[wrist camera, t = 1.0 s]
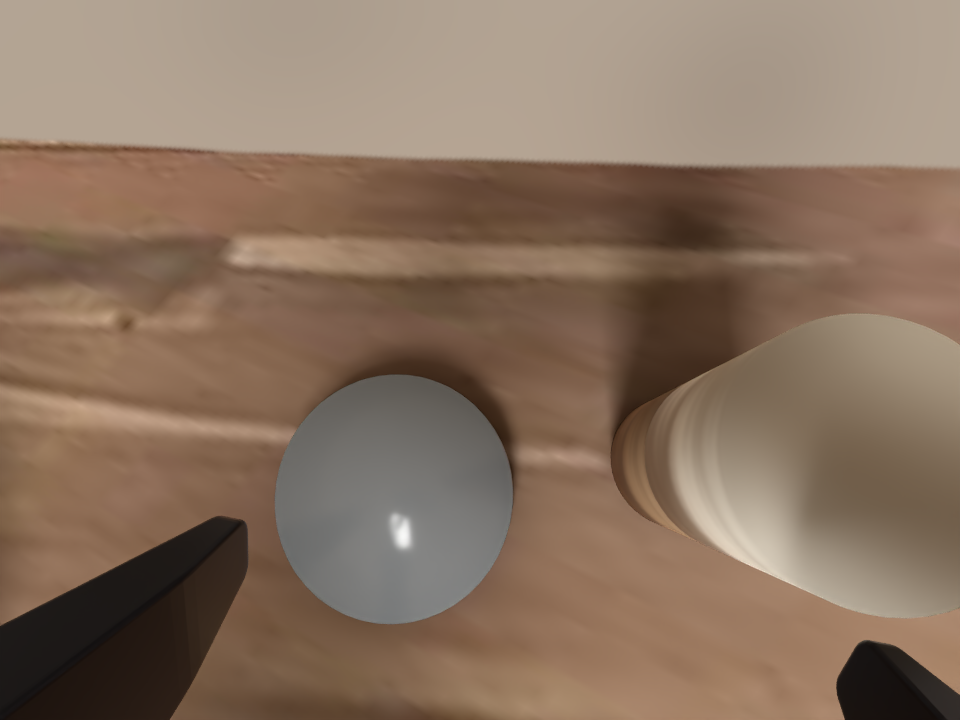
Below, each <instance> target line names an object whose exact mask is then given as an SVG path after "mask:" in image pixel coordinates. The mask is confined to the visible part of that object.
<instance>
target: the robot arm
mask: <svg viewBox="0 0 960 720" xmlns="http://www.w3.org/2000/svg"><path fill="white" fill-rule="evenodd" d="M247 568H248V529H247V525H246V523H245V521H243V520H241V519H236V518H231V517H225V516H216V517H214V518H211V519H209V520H207V521H205V522H203V523H201V524H200V525H198V526H196V527H194V528H192V529H190V530H188V531H186V532H184V533H182V534H180V535H178V536H176V537H174V538H172V539H170V540H168V541H166V542H164V543H162V544H160V545H158V546H156V547H154V548H152V549H150V550H148V551H146V552H145V553H143V554H141V555H139V556H137V557H135V558H133V559H131V560H129V561H127V562H125V563H123V564H121V565H119V566H117V567H115V568H113V569H111V570H109V571H107V572H105V573H103V574H101V575H99V576H97V577H95V578H93V579H91V580H90V581H88V582H86V583H84V584H82V585H80V586H78V587H76V588H74V589H72V590H70V591H68V592H66V593H64V594H62V595H60V596H58V597H56V598H54V599H52V600H50V601H48V602H46V603H44V604H42V605H40V606H38V607H36V608H34V609H33V610H31V611H29V612H27V613H25V614H23V615H21V616H19V617H17V618H15V619H13V620H11V621H9V622H7V623H5V624H3V625H1V626H0V720H170V718H171V717H172V715H173V713H174V712H175V710H176V709H177V707H178V705H179V704H180V702H181V701H182V699H183V697H184V695H185V694H186V692H187V690H188V689H189V687H190V685H191V684H192V682H193V680H194V678H195V676H196V674H197V672H198V670H199V668H200V667H201V665H202V663H203V661H204V659H205V657H206V655H207V653H208V651H209V649H210V647H211V645H212V643H213V641H214V639H215V637H216V635H217V632H218V630H219V628H220V626H221V624H222V622H223V620H224V618H225V616H226V614H227V612H228V610H229V608H230V606H231V604H232V602H233V600H234V598H235V596H236V594H237V592H238V590H239V588H240V586H241V584H242V582H243V580H244V578H245V575H246V572H247ZM836 690H837V696H838V700H839V703H840V706H841V709H842V712H843V715H844V718H845V720H960V695H959V694H958V693H956V692H955V691H954V690H952V689H951V688H950V687H949V686H947V685H946V684H945V683H943V682H942V681H941V680H940V679H938V678H937V677H936V676H935V675H933V674H932V673H931V672H929V671H928V670H927V669H926V668H924V667H923V666H922V665H920V664H919V663H918V662H917V661H915V660H914V659H913V658H911V657H910V656H909V655H908V654H906V653H905V652H904V651H902V650H901V649H900V648H898V647H896V646H894V645H891V644H886V643H881V642H875V641H870V640H864V641H862V642H860V643H858V645H857V646H856V647H855V649H854V651H853V652H852V654H851V656H850V657H849V659H848V661H847V662H846V664H845V666H844V667H843V669H842V671H841V672H840V674H839V676H838V678H837V684H836Z"/></svg>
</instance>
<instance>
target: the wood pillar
mask: <svg viewBox="0 0 960 720" xmlns="http://www.w3.org/2000/svg"><path fill="white" fill-rule="evenodd" d="M611 467H612V473H613V476H614V480H615V482H616V485H617V487H618V489H619V491H620V493H621V494H622V496H623V497H624V499H625V500H626V501H627V503H628V504H629V505H630V506H631V507H632V508H633V509H634V510H635V511H636V512H638V513H639V514H640V515H642V516H643V517H645V518H646V519H648V520H650V521H652V522H654V523H657V524H659V525H661V526H663V527H665V528H668V529H670V530H672V531H674V532H677V533H679V534H681V535H683V536H685V537H688V538H690V539H692V540H694V541H696V542H699V543H701V544H703V545H705V546H708V547H710V548H712V549H714V550H716V551H719V552H721V553H723V554H725V555H727V556H730V557H732V558H734V559H736V560H739V561H741V562H743V563H745V564H747V565H750V566H752V567H754V568H756V569H759V570H761V571H763V572H765V573H767V574H770V575H772V576H774V577H776V578H778V579H781V580H783V581H785V582H787V583H790V584H792V585H794V586H796V587H798V588H801V589H803V590H805V591H807V592H810V593H812V594H814V595H816V596H818V597H821V598H823V599H825V600H827V601H829V602H832V603H834V604H836V605H838V606H841V607H844V608H847V609H850V610H853V611H856V612H860V613H863V614H869V615H874V616H880V617H888V618H918V617H929V616H933V615H938V614H942V613H946V612H950V611H953V610H955V609H958V608H960V345H959V344H958V343H956V342H954V341H953V340H951V339H950V338H948V337H946V336H944V335H942V334H940V333H938V332H936V331H934V330H932V329H930V328H928V327H925V326H922V325H919V324H916V323H914V322H911V321H908V320H903V319H899V318H895V317H891V316H884V315H876V314H843V315H834V316H828V317H824V318H820V319H816V320H812V321H810V322H807V323H805V324H802V325H799V326H797V327H794V328H792V329H791V330H789V331H787V332H785V333H783V334H781V335H779V336H777V337H775V338H773V339H771V340H769V341H767V342H765V343H763V344H761V345H759V346H757V347H755V348H753V349H751V350H749V351H747V352H745V353H743V354H741V355H739V356H737V357H735V358H733V359H731V360H730V361H728V362H726V363H724V364H722V365H720V366H718V367H716V368H714V369H712V370H710V371H708V372H706V373H704V374H702V375H700V376H698V377H696V378H694V379H692V380H690V381H688V382H686V383H684V384H682V385H680V386H678V387H676V388H674V389H672V390H670V391H668V392H667V393H665V394H663V395H661V396H659V397H657V398H655V399H653V400H651V401H649V402H647V403H645V404H643V405H641V406H639V407H638V408H636V409H635V410H634V411H632V412H631V413H630V414H629V415H628V416H627V417H626V418H625V420H624V421H623V422H622V423H621V425H620V427H619V428H618V430H617V432H616V435H615V437H614V440H613V444H612V450H611Z"/></svg>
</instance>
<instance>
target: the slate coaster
mask: <svg viewBox="0 0 960 720" xmlns="http://www.w3.org/2000/svg"><path fill="white" fill-rule="evenodd" d="M512 508H513V480H512V472H511V468H510V464H509V460H508V456H507V454H506V451H505V449H504V446H503V443H502V442H501V440H500V438H499V436H498V434H497V432H496V431H495V429H494V428H493V426H492V425H491V424H490V422H489V421H488V420H487V418H486V417H485V416H484V415H483V414H482V413H481V412H480V411H479V410H478V408H477V407H476V406H475V405H474V404H472V403H471V402H470V401H469V400H468V399H466V398H465V397H464V396H463V395H461V394H460V393H458V392H456V391H455V390H453V389H451V388H450V387H448V386H445V385H443V384H441V383H439V382H436V381H433V380H430V379H426V378H423V377H418V376H411V375H383V376H376V377H372V378H368V379H364V380H360V381H358V382H355V383H353V384H350V385H348V386H346V387H344V388H342V389H340V390H339V391H337V392H335V393H333V394H332V395H331V396H329V397H328V398H327V399H325V400H324V401H322V402H321V403H320V404H319V405H318V406H317V407H316V408H315V409H314V410H313V411H312V412H311V413H310V414H309V415H308V416H307V417H306V418H305V420H304V421H303V422H302V423H301V424H300V426H299V428H298V429H297V431H296V432H295V434H294V435H293V437H292V439H291V441H290V443H289V445H288V447H287V449H286V451H285V453H284V456H283V459H282V462H281V464H280V468H279V472H278V477H277V481H276V490H275V516H276V523H277V530H278V533H279V537H280V541H281V544H282V547H283V549H284V552H285V554H286V556H287V559H288V561H289V563H290V564H291V566H292V568H293V569H294V571H295V573H296V574H297V576H298V577H299V578H300V579H301V581H302V582H303V583H304V585H305V586H306V587H307V588H308V589H309V590H310V591H311V592H312V593H313V594H314V595H315V596H316V597H317V598H319V599H320V600H321V601H323V602H324V603H326V604H327V605H328V606H330V607H331V608H333V609H335V610H337V611H339V612H341V613H343V614H344V615H347V616H350V617H353V618H355V619H358V620H362V621H367V622H372V623H378V624H401V623H410V622H414V621H418V620H423V619H426V618H428V617H431V616H434V615H436V614H439V613H441V612H443V611H444V610H446V609H448V608H450V607H452V606H453V605H455V604H456V603H458V602H459V601H460V600H462V599H463V598H464V597H466V596H467V595H468V594H469V593H470V592H471V591H472V590H473V589H474V588H475V587H476V586H477V585H478V584H479V583H480V582H481V581H482V579H483V578H484V577H485V576H486V574H487V573H488V572H489V570H490V569H491V567H492V566H493V564H494V562H495V560H496V559H497V557H498V555H499V553H500V551H501V548H502V546H503V544H504V541H505V539H506V535H507V531H508V528H509V524H510V520H511V515H512Z"/></svg>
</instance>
